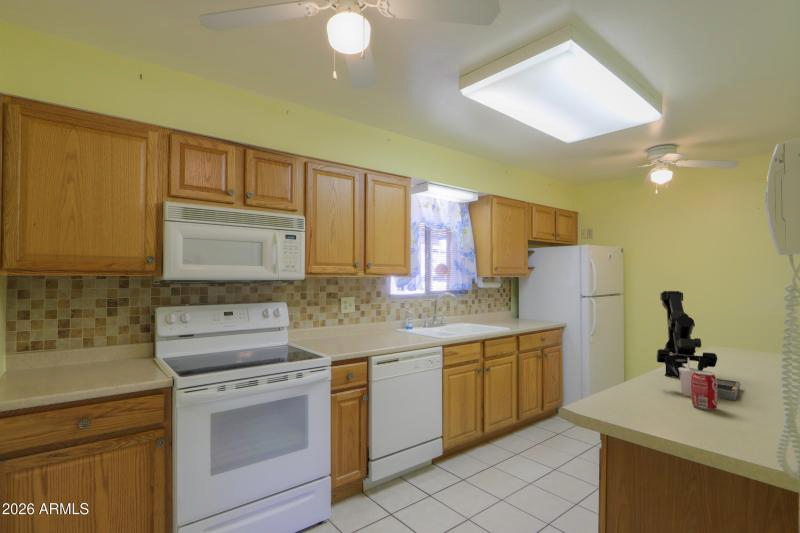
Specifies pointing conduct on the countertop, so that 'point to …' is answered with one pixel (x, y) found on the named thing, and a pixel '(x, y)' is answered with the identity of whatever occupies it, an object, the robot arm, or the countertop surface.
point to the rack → (727, 389)
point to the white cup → (686, 379)
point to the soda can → (704, 390)
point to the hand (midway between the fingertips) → (689, 376)
